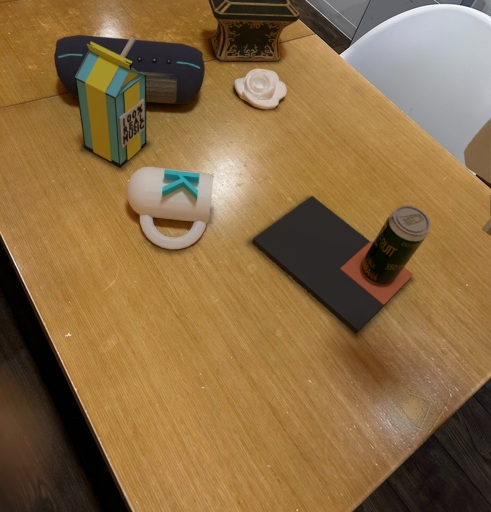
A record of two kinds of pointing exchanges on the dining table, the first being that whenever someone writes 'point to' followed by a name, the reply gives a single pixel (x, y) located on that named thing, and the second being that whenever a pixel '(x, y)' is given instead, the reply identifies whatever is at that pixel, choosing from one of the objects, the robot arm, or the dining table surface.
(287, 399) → the dining table surface
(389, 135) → the dining table surface
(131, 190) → the mug
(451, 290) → the dining table surface
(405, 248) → the beer can
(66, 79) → the portable speaker
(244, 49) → the decorative box
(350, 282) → the mat
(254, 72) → the rose
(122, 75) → the carton
